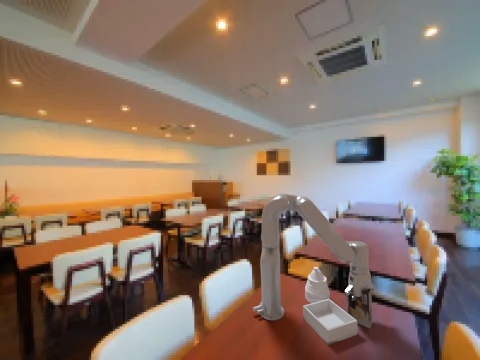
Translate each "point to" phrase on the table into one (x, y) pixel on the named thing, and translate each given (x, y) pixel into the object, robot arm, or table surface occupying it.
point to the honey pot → (316, 287)
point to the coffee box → (362, 308)
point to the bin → (330, 321)
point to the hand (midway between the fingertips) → (360, 305)
